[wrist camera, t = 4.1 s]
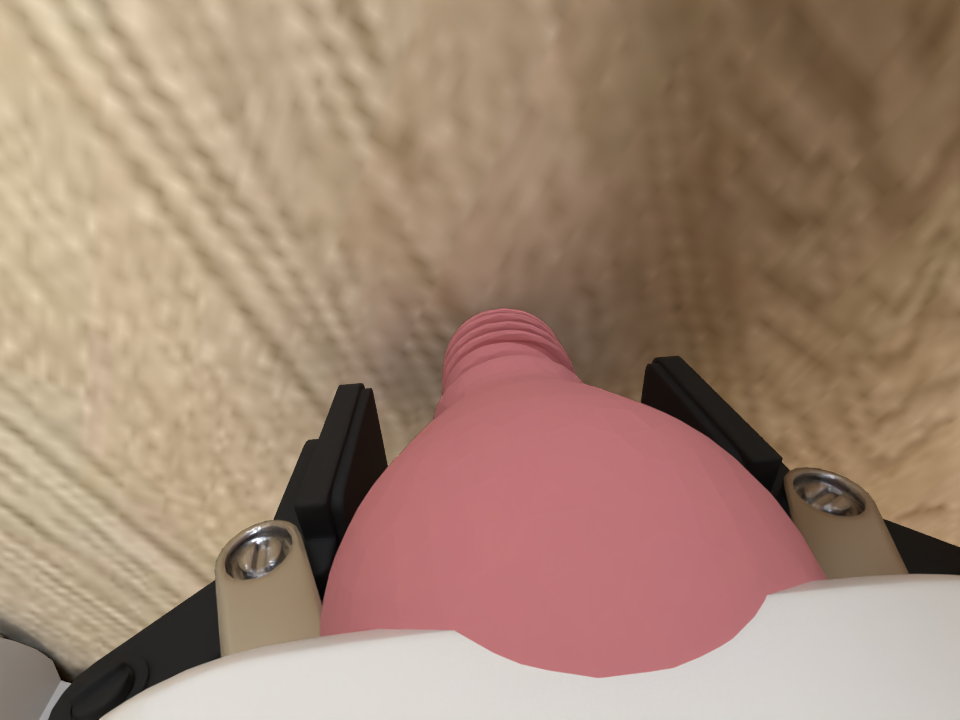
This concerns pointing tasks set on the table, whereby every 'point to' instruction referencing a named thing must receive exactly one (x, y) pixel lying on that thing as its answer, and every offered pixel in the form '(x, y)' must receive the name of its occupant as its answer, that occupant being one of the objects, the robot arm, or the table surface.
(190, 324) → the table surface
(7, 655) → the bunny figurine
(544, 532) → the light bulb
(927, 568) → the robot arm
